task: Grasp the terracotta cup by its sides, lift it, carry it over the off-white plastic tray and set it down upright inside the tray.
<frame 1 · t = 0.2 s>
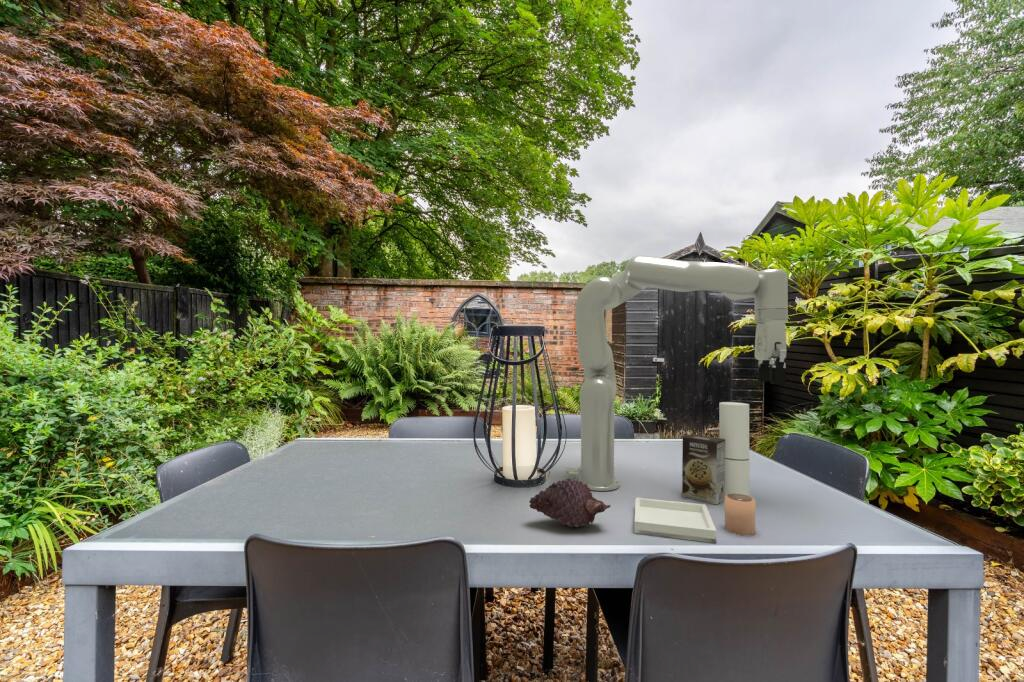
hand: (771, 382, 115), 31 cm above the table, tool pointing down, fingers open, 9 cm apart
cylindrical container: (734, 498, 118), on the table
pine cone: (569, 526, 98), on the table
coffee box: (703, 499, 117), on the table
tray: (672, 523, 99), on the table
cup: (739, 530, 96), on the table
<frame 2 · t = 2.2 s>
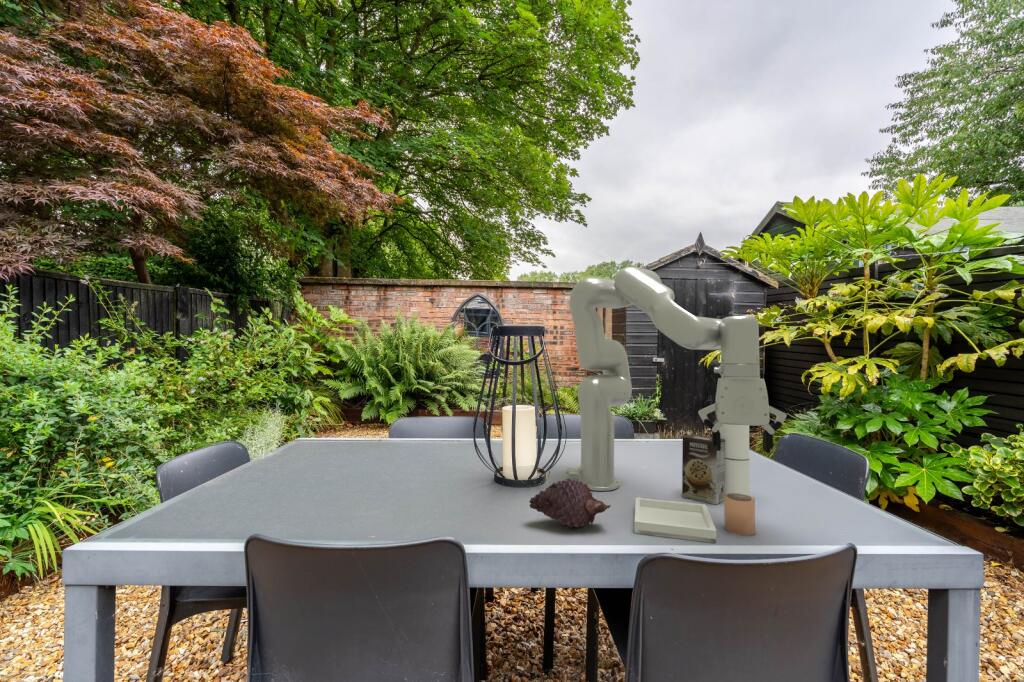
hand: (741, 450, 96), 17 cm above the table, tool pointing down, fingers open, 9 cm apart
cylindrical container: (734, 498, 118), on the table, touching coffee box
coffee box: (703, 499, 117), on the table, touching cylindrical container
everything else where it was.
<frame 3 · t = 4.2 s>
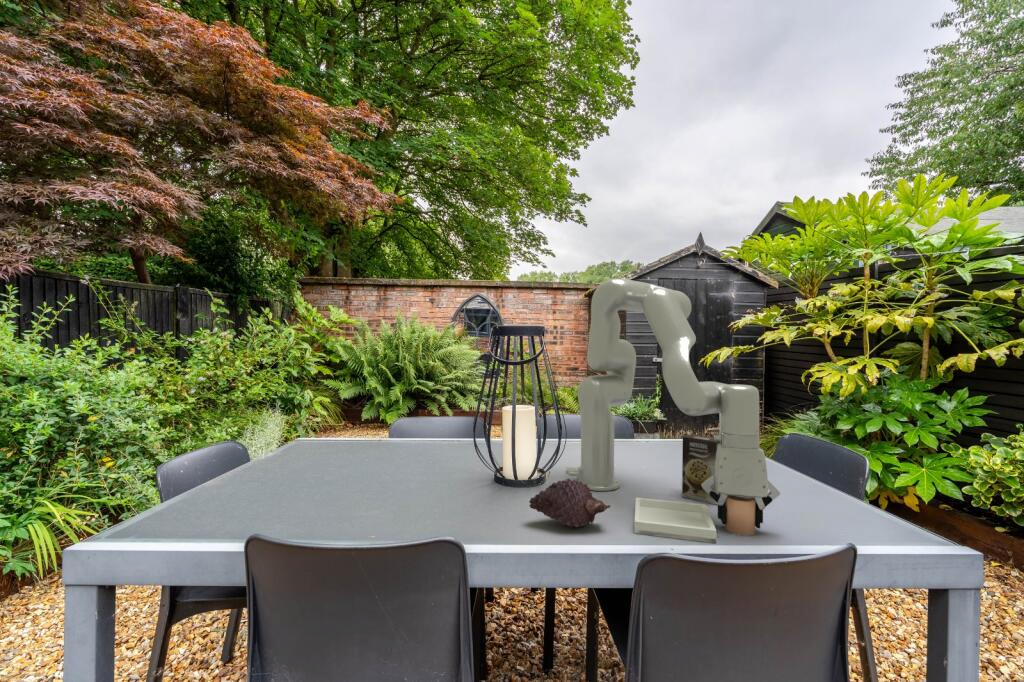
hand: (739, 523, 96), 1 cm above the table, tool pointing down, fingers closed on cup, 6 cm apart
cup: (739, 529, 96), on the table, touching gripper
everything else where it was.
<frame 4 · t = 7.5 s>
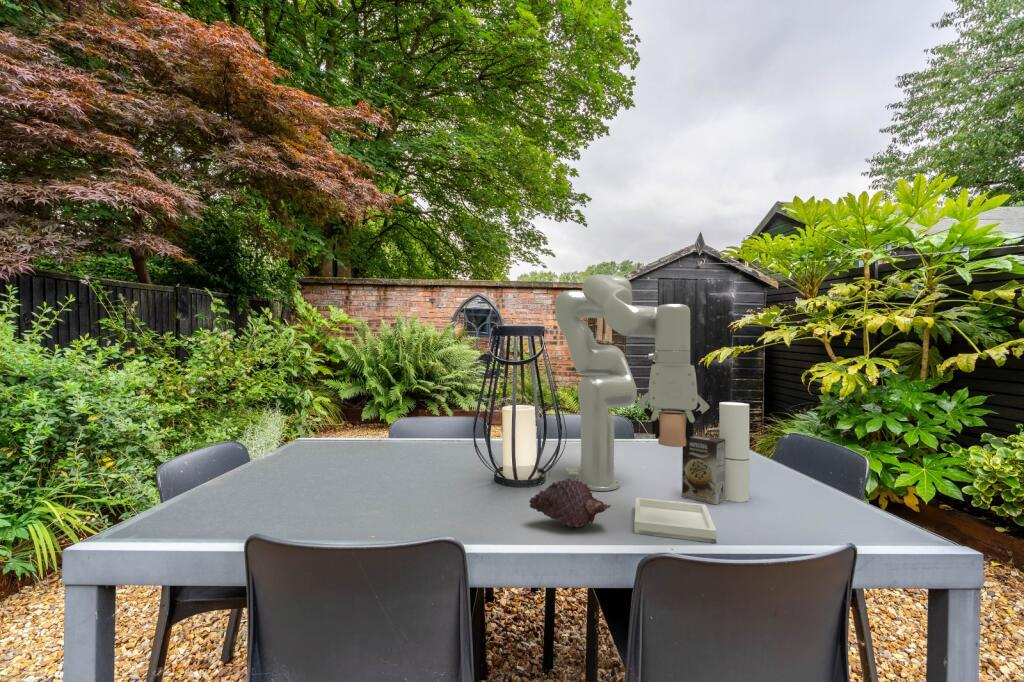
hand: (672, 437, 100), 19 cm above the table, tool pointing down, fingers closed on cup, 6 cm apart
cylindrical container: (734, 498, 118), on the table
coffee box: (703, 499, 117), on the table
cup: (672, 443, 100), point 18 cm above the table, touching gripper
everything else where it was.
when the fingers open (4 cm above the table, at t = 10.8 s): cup drops 2 cm, resting on tray.
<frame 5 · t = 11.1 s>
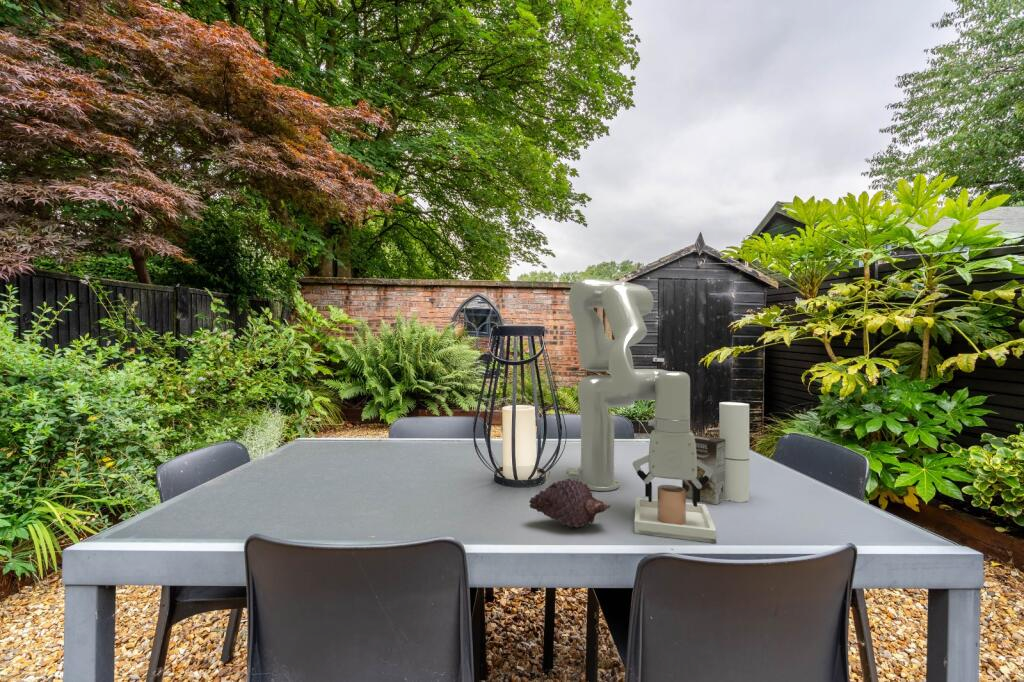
hand: (672, 502, 99), 5 cm above the table, tool pointing down, fingers open, 9 cm apart
cup: (671, 520, 99), point 1 cm above the table, touching tray
everything else where it was.
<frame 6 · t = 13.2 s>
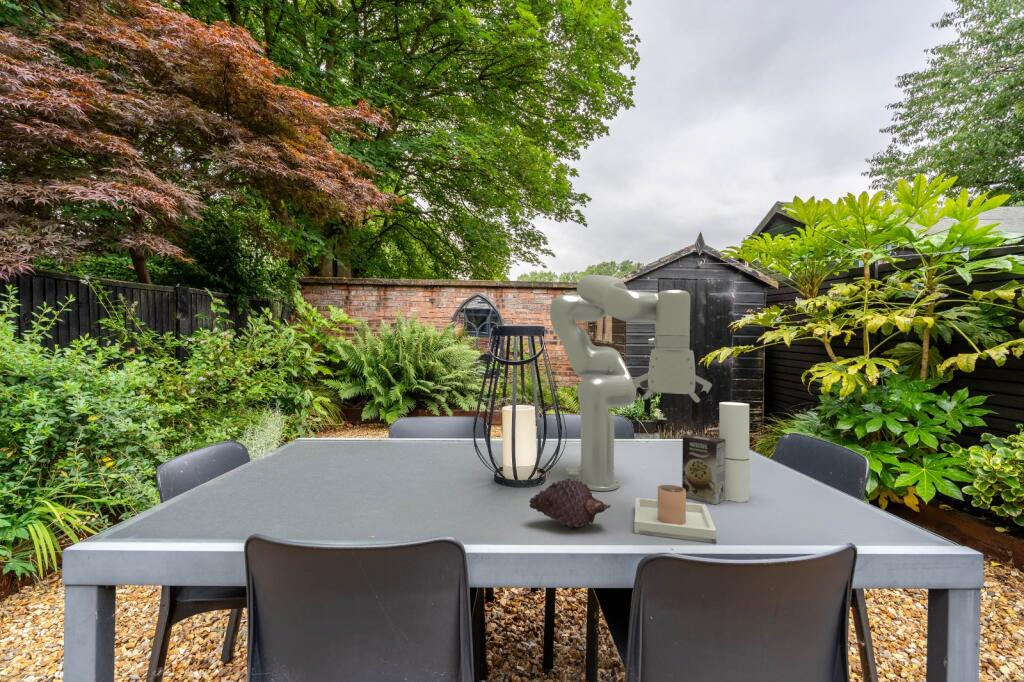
hand: (670, 417, 103), 23 cm above the table, tool pointing down, fingers open, 9 cm apart
nothing on the table moved.
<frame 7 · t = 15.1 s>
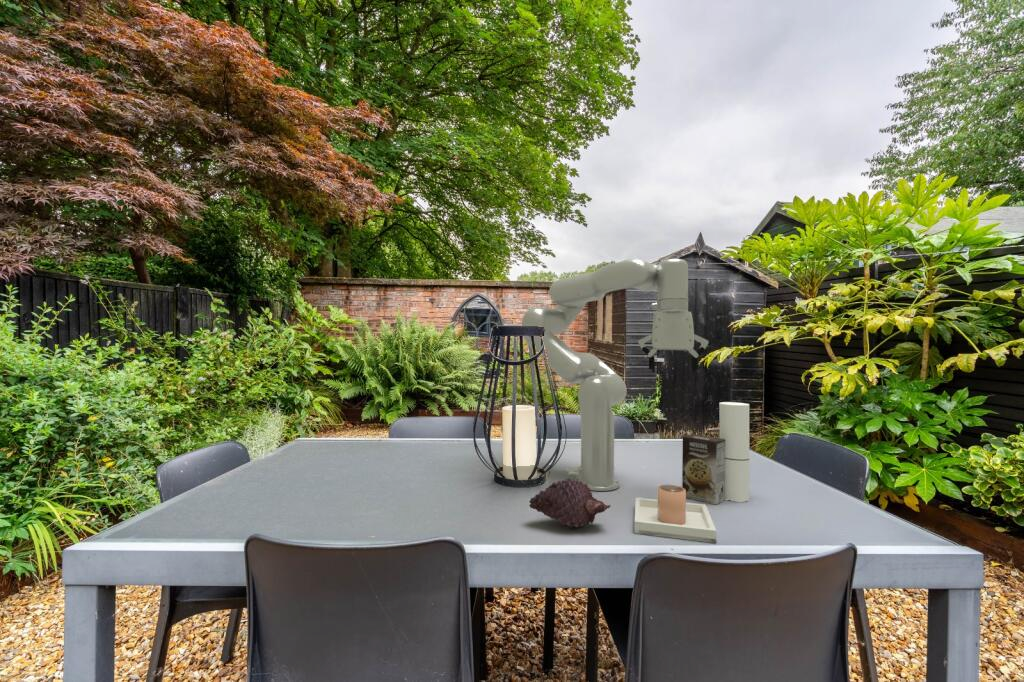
hand: (672, 372, 115), 33 cm above the table, tool pointing down, fingers open, 9 cm apart
cylindrical container: (734, 498, 118), on the table, touching coffee box
coffee box: (703, 499, 117), on the table, touching cylindrical container
everything else where it was.
at the end: cup inside the target area on the tray (0.1 cm from its centre), point 0.8 cm above the tray's base; cup tilted 0°; the gripper is holding nothing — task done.
